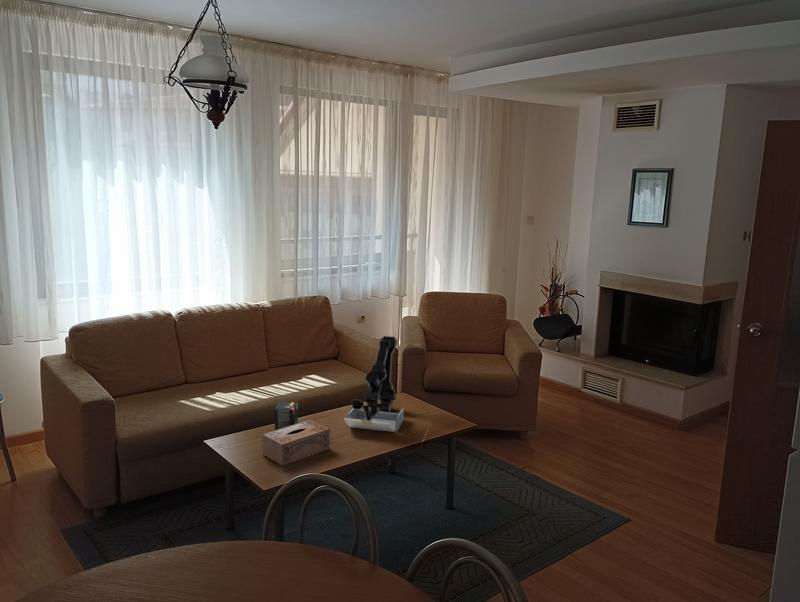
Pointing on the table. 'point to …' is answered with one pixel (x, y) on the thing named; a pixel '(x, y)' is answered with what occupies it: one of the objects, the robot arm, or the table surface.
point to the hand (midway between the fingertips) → (367, 422)
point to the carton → (380, 417)
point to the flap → (369, 424)
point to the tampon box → (286, 414)
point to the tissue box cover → (296, 442)
